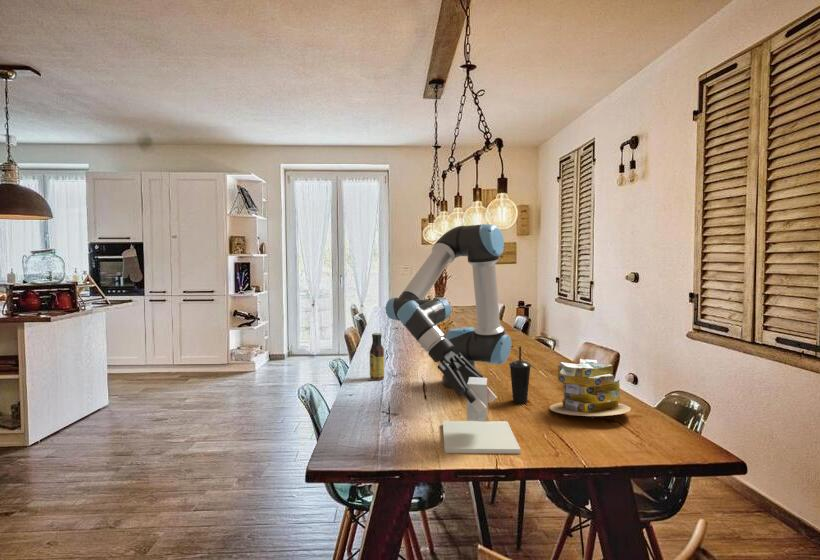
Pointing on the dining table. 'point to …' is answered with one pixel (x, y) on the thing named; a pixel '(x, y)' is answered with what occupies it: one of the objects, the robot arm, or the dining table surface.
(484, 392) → the small box
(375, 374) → the sauce bottle
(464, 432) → the white square board
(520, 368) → the drinking cup
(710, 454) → the dining table surface
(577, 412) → the stacked boxes on plate
